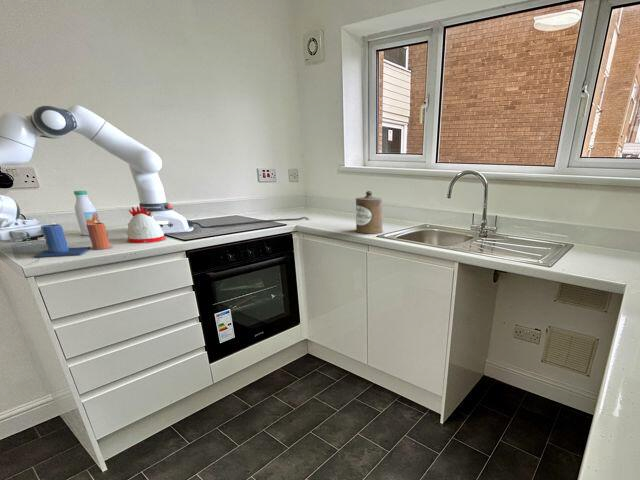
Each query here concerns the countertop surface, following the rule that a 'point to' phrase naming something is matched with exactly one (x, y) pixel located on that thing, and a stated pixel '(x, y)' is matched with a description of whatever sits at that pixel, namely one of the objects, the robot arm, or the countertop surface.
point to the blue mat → (70, 253)
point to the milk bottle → (84, 211)
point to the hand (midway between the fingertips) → (41, 232)
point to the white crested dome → (143, 228)
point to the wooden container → (369, 214)
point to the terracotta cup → (98, 235)
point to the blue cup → (55, 238)
